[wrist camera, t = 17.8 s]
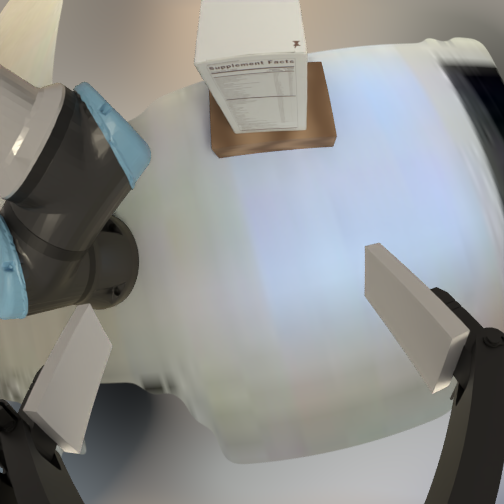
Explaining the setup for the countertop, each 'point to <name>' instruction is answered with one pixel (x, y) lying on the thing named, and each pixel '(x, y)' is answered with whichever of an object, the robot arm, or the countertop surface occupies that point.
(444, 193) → the countertop surface
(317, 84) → the walnut base
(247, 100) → the supplement box
